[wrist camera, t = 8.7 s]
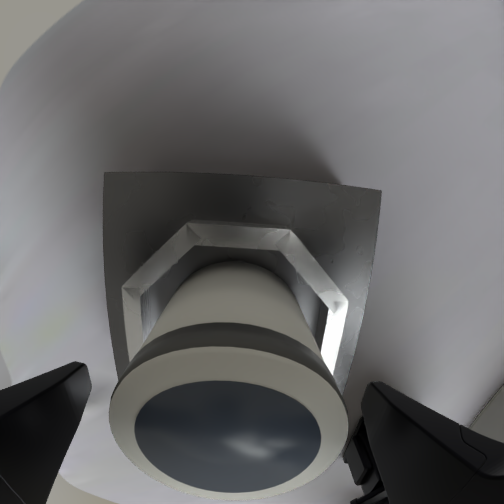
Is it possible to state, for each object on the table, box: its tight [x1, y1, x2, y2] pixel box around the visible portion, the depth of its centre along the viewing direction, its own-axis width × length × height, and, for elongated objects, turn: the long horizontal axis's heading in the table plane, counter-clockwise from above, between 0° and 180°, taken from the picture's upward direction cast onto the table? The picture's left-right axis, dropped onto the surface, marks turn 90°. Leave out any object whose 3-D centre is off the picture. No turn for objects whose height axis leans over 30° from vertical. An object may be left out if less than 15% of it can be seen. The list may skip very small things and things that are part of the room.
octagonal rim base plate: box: [103, 172, 382, 396], centre depth 15 cm, size 12×13×6 cm
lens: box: [109, 262, 348, 501], centre depth 9 cm, size 6×6×7 cm
